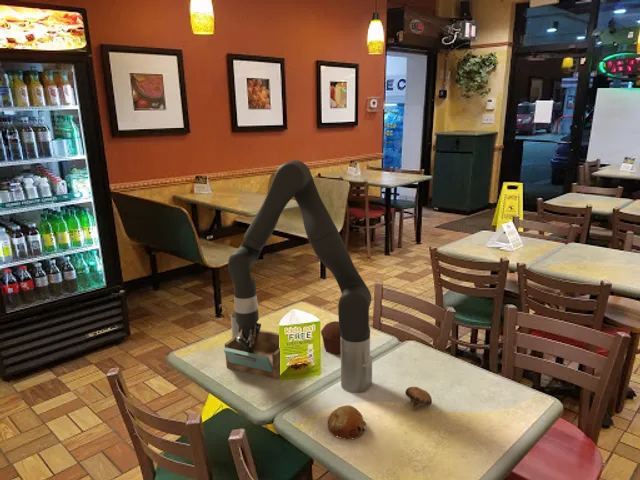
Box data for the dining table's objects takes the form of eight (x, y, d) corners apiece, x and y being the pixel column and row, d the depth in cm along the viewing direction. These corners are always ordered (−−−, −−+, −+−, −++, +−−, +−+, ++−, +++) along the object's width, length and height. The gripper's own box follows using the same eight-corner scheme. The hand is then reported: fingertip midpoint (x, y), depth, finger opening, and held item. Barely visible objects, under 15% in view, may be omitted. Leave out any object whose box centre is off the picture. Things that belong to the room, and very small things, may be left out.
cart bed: (296, 359, 168) (295, 336, 166) (276, 379, 156) (275, 354, 153) (248, 349, 176) (247, 327, 174) (226, 367, 164) (224, 343, 162)
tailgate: (273, 369, 157) (268, 356, 152) (270, 375, 155) (265, 362, 151) (231, 359, 163) (225, 347, 159) (228, 365, 162) (222, 352, 158)
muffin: (315, 345, 178) (315, 321, 175) (341, 338, 183) (340, 314, 180) (331, 359, 168) (330, 333, 165) (357, 351, 173) (357, 326, 170)
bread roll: (348, 426, 138) (338, 400, 138) (375, 425, 131) (365, 398, 131) (327, 444, 130) (317, 416, 130) (354, 444, 123) (343, 415, 124)
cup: (252, 343, 181) (250, 319, 178) (230, 343, 181) (229, 319, 179) (255, 333, 189) (254, 310, 186) (235, 333, 189) (233, 310, 187)
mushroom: (407, 406, 134) (415, 385, 136) (396, 401, 142) (404, 381, 143) (431, 417, 136) (439, 396, 137) (419, 411, 143) (426, 391, 145)
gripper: (244, 317, 146) (248, 367, 151) (266, 301, 158) (269, 348, 162) (224, 314, 149) (229, 362, 154) (247, 298, 161) (251, 344, 166)
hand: (250, 355), depth 158 cm, fingers closed
